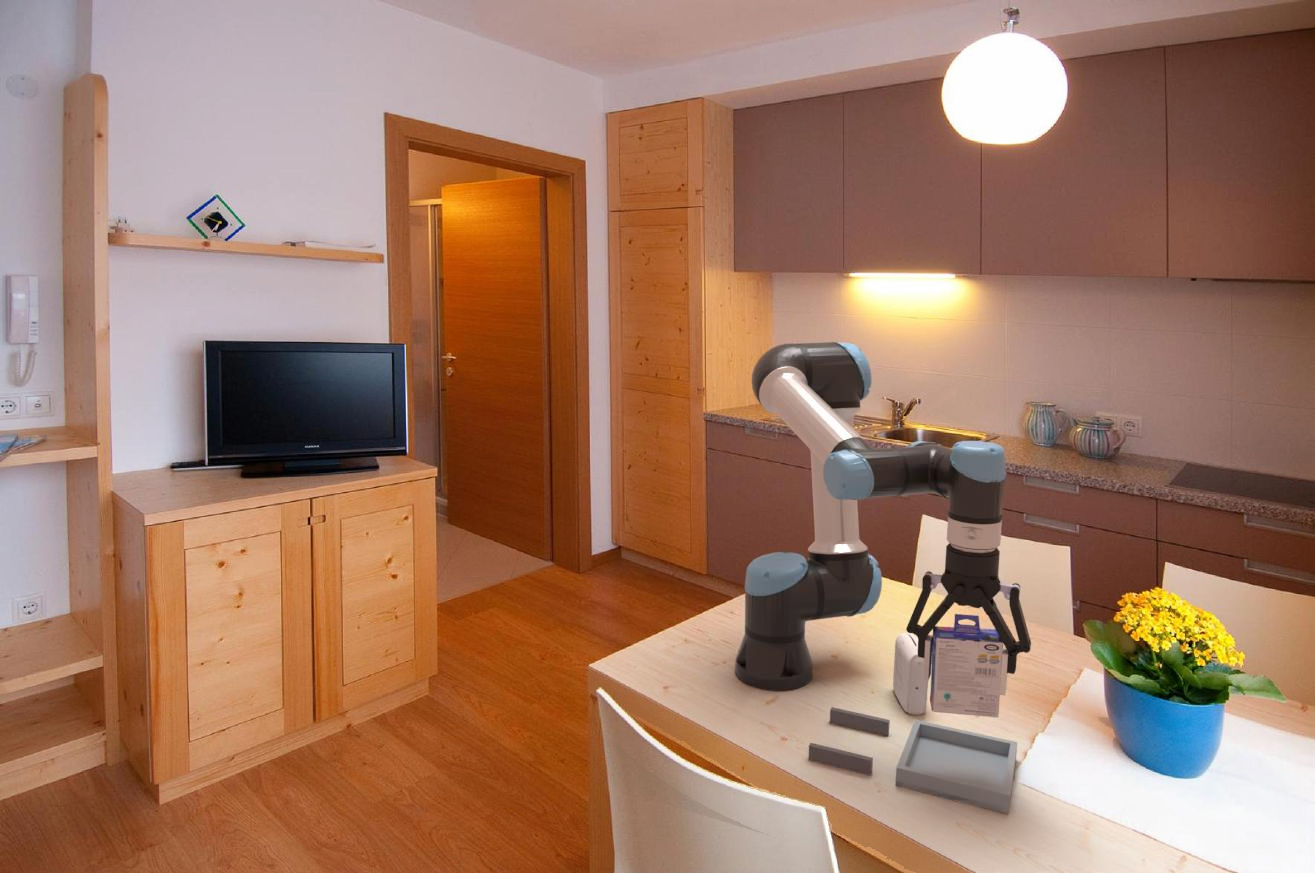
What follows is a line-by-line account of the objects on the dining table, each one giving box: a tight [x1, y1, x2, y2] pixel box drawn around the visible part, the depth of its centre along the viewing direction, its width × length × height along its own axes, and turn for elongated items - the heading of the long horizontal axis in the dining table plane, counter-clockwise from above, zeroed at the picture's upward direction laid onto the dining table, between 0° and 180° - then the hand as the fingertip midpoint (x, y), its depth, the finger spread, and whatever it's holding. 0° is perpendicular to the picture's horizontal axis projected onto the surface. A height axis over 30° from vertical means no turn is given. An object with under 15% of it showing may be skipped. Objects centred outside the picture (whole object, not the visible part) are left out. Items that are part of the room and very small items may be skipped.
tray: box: [895, 719, 1018, 814], centre depth 133 cm, size 16×16×3 cm
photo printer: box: [892, 632, 929, 716], centre depth 155 cm, size 10×4×12 cm, turn 179°
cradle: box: [807, 706, 891, 776], centre depth 141 cm, size 10×14×2 cm
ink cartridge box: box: [929, 613, 1004, 718], centre depth 130 cm, size 10×6×14 cm, turn 79°
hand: (964, 684), depth 131 cm, fingers closed on ink cartridge box, 10 cm apart
